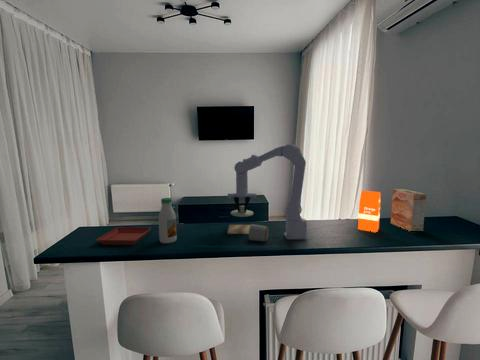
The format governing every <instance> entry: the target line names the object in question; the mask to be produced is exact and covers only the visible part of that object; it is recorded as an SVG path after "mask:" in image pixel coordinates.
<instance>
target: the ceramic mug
mask: <svg viewBox="0 0 480 360" xmlns="http://www.w3.org/2000/svg"><path fill="white" fill-rule="evenodd" d="M250 225H251V226H250V230H249V234H248V240H249V241H257V242H267V241H268V238H269V233H270V231H269V227H268V226H266V225H260V224H255V223H251V224H250Z"/></svg>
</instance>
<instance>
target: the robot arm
mask: <svg viewBox="0 0 480 360" xmlns="http://www.w3.org/2000/svg"><path fill="white" fill-rule="evenodd" d="M275 157H284V158H285V159H287V160H289V161H290V162H291V163H292V164H293V166H294V171H293V177H292V178H293V179H292V186H291V193H290V199H289V203H288V208H287V209H286V211H285V216H286V218H285V219H286V220H285V232H284V236H285V239H286V240H308V238H307V232H308V231H307V229H308V228H307V227H308V226H307V225H308V224H307V219H306V218H302V216H301V213H302V212H303V207H302V205H301V203H302V193H303V188H304V187H303V186H304V178H305V172H306V171H305V170H306V166H307V165H306V163H307V162H306V158H305V157H304V155H303V153H302V152H301V149H300V148H299V147H298V146H297V145H295V144H294V143H293V144H292V143H291V144H290V143H289V144H285V145H281V146H278V147H276V148H273V149H271V150H270V151H267V152H265V153H263V154H260V155H258V154H251V155H250V157H248V158H243V159H242V161H238V162H236V163H235V165H234V167H233V168H234V171H235V173H236V175H235V176H236V177H235V179H236V180H235V183H236V185H235V186H236V187H235V189H236V190H235V193H227V199H233V201H234V203H235V205H236V210H238V212H239V206H240V199H244V206H245V212H246V210H248V206H249V203H250V200H251V199H257V193H249V192H248V191H249V189H248V187H249V186H248V181H249V178H248V177H249V176H248V171H252V170H253V169H256V168H258V167H261V166H262V165H263V164H262V163H263V162H265V161H268V160H271V159H273V158H275Z"/></svg>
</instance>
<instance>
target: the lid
mask: <svg viewBox="0 0 480 360" xmlns="http://www.w3.org/2000/svg"><path fill="white" fill-rule="evenodd" d="M230 215H231V216H234V217H238V218H239V217H240V218H241V217H242V218H243V217H251V216H254V211H252V210H248V209H246V212H245V205H239V212H238V209H235V210H232V211H230Z"/></svg>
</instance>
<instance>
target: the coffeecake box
mask: <svg viewBox="0 0 480 360" xmlns="http://www.w3.org/2000/svg"><path fill="white" fill-rule="evenodd" d="M391 199H392V201H391V212H390V224H392V225H394V226H396V227H398V228H400V227H401V229H403V230H405V229H406V230H405V231H407V230H408V232H410V231H423V232H424V225H425V224H424V222H425V214H426V213H425V212H426V201H427V193H423V192H419V191H414V190H411V189H406V188H392V198H391Z"/></svg>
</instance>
